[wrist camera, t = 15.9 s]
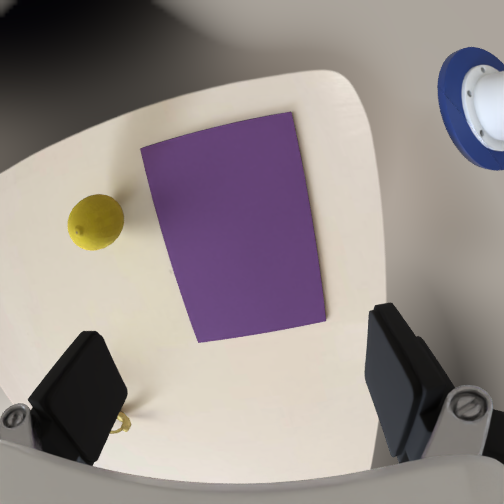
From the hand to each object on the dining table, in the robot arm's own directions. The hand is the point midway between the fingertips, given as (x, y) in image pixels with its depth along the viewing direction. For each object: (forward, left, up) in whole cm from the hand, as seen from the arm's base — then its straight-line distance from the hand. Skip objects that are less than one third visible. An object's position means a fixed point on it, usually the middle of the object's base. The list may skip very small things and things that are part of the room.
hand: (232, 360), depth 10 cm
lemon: (+9, -13, -24) cm, 28 cm away
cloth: (+3, +1, -23) cm, 24 cm away
